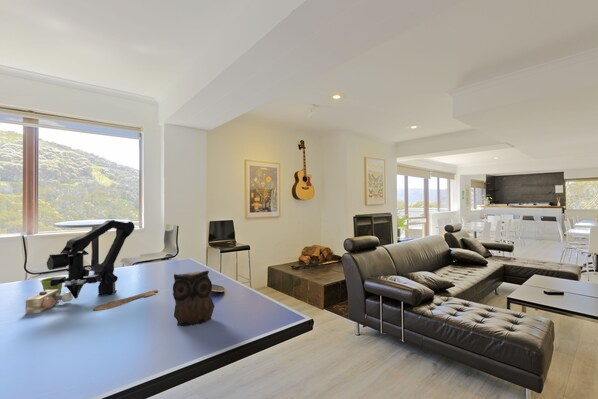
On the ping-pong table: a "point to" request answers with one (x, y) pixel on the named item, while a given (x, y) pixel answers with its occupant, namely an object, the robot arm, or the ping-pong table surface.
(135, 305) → the ping-pong table surface
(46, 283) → the plant pot
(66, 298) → the knob
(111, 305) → the paddle
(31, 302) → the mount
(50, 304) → the knob
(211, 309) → the owl
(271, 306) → the ping-pong table surface
